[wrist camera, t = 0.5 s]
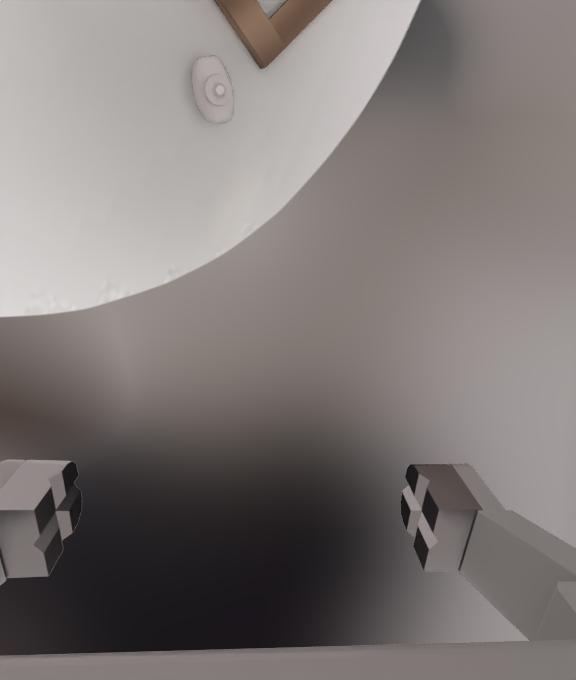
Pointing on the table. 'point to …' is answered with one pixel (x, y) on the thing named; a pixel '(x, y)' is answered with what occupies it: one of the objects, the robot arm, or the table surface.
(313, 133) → the table surface
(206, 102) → the eye dropper bottle
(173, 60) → the table surface
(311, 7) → the socket block
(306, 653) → the robot arm
